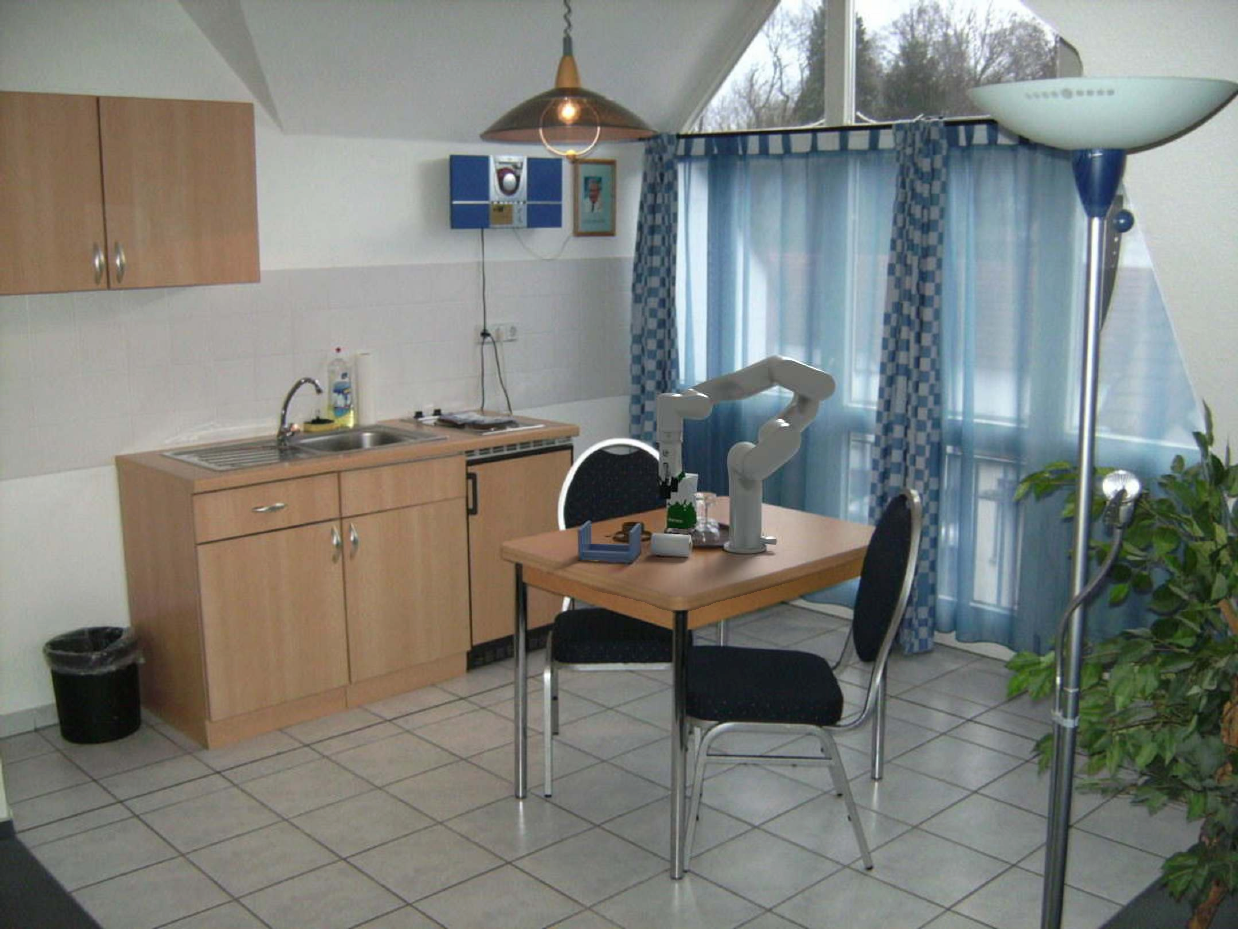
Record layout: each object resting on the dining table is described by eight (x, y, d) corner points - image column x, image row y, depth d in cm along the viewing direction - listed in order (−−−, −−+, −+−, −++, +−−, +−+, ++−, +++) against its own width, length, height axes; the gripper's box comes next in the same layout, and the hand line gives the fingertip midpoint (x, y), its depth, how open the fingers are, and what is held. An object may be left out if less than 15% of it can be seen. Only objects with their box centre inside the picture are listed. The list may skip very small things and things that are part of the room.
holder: (641, 553, 370) (641, 523, 368) (632, 563, 359) (632, 532, 358) (588, 550, 374) (587, 520, 372) (578, 560, 363) (577, 529, 361)
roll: (693, 553, 369) (693, 532, 367) (689, 560, 363) (689, 538, 361) (653, 551, 372) (652, 530, 370) (648, 558, 366) (648, 537, 364)
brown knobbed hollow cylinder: (668, 539, 389) (668, 520, 388) (633, 553, 372) (632, 534, 371) (620, 532, 398) (620, 513, 397) (584, 545, 382) (583, 526, 381)
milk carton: (662, 533, 393) (662, 469, 389) (677, 526, 401) (676, 464, 397) (687, 536, 389) (687, 472, 385) (701, 530, 396) (701, 467, 392)
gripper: (676, 442, 352) (675, 502, 356) (688, 432, 369) (687, 490, 372) (649, 441, 354) (649, 501, 357) (663, 431, 371) (662, 488, 374)
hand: (668, 495), depth 365 cm, fingers open, 9 cm apart
